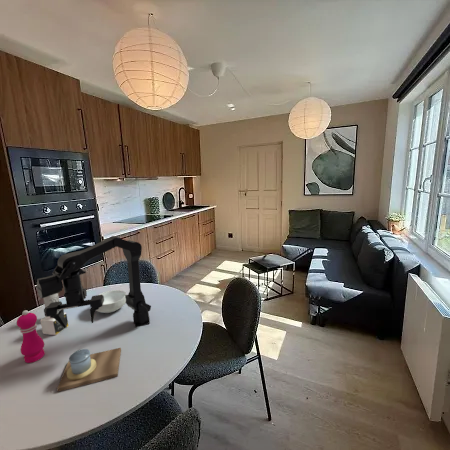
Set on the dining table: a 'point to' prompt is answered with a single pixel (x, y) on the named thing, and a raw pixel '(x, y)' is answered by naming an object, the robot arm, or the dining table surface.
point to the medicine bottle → (52, 325)
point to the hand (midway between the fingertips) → (79, 325)
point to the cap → (80, 361)
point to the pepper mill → (30, 337)
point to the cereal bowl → (112, 301)
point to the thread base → (93, 370)
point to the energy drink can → (51, 299)
